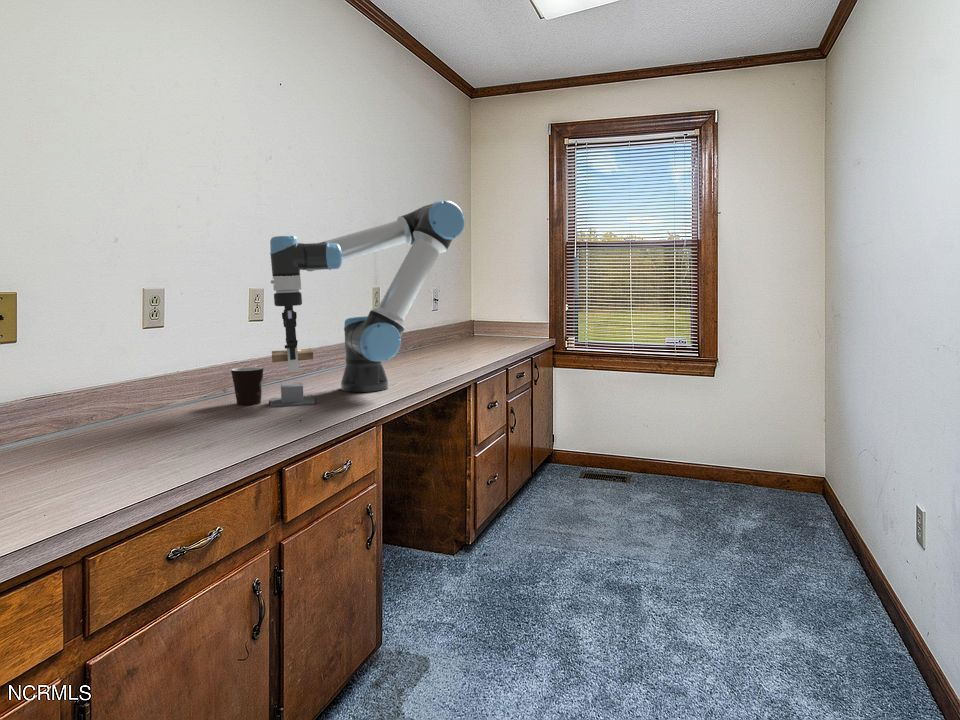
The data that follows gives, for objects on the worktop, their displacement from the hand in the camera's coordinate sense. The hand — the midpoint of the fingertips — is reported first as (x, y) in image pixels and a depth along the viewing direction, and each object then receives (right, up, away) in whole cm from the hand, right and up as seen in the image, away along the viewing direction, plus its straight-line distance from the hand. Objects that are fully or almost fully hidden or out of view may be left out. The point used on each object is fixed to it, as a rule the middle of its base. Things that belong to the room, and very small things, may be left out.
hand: (293, 368), depth 185 cm
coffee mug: (-12, -10, +1) cm, 16 cm away
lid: (0, +3, 0) cm, 3 cm away
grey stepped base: (0, -10, +1) cm, 10 cm away
